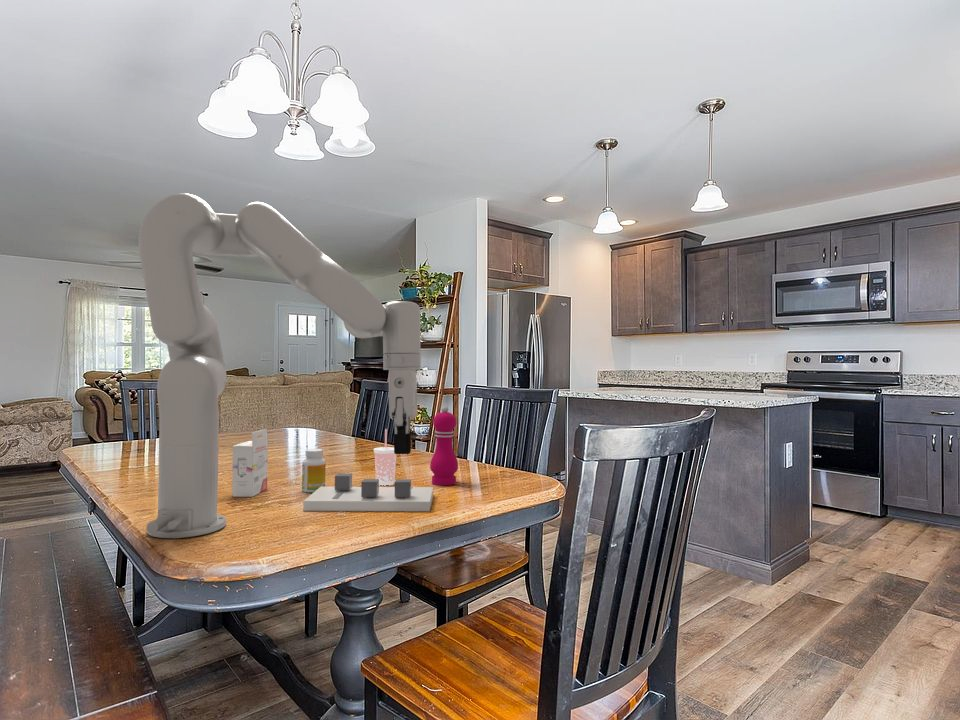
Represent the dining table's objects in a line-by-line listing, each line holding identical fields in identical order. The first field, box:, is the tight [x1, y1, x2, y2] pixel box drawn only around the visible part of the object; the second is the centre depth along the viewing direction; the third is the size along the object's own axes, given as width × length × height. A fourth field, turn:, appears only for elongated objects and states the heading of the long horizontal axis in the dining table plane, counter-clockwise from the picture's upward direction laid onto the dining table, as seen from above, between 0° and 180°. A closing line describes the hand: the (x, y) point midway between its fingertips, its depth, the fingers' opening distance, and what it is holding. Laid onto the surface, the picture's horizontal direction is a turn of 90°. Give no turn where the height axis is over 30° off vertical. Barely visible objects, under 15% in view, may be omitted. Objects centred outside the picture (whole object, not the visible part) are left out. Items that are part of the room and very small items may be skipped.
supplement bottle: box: [301, 448, 327, 493], centre depth 132 cm, size 5×5×10 cm
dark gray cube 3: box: [394, 478, 412, 497], centre depth 117 cm, size 3×3×3 cm
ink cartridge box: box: [231, 428, 269, 498], centre depth 128 cm, size 9×5×15 cm, turn 179°
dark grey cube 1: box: [334, 472, 353, 491], centre depth 123 cm, size 3×3×3 cm
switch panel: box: [302, 486, 434, 512], centre depth 120 cm, size 14×26×2 cm, turn 92°
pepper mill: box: [429, 405, 459, 486], centre depth 142 cm, size 7×7×20 cm
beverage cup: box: [373, 428, 397, 487], centre depth 140 cm, size 6×6×14 cm
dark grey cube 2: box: [360, 478, 380, 497], centre depth 117 cm, size 3×3×3 cm
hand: (402, 453), depth 111 cm, fingers closed
